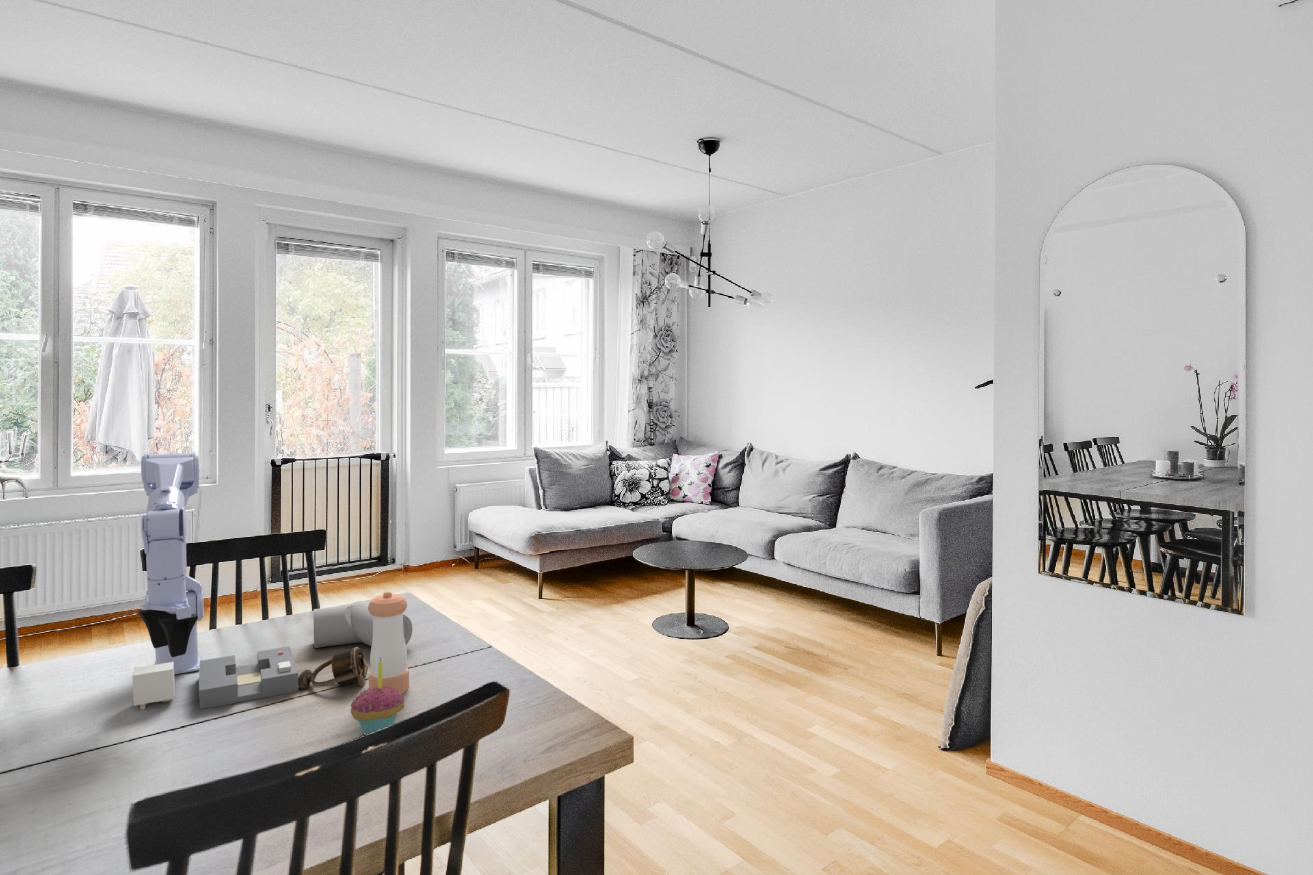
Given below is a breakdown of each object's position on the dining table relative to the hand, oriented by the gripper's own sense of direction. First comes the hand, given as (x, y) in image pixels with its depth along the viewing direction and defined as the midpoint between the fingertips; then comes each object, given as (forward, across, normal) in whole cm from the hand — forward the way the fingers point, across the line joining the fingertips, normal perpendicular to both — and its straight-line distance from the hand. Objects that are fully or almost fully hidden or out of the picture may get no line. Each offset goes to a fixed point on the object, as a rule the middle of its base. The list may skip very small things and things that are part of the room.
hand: (169, 650), depth 132 cm
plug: (+10, -4, -1) cm, 11 cm away
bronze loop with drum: (+11, +14, +24) cm, 29 cm away
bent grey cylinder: (+10, 0, +38) cm, 40 cm away
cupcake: (+11, +38, +17) cm, 43 cm away
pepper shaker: (+11, +25, +28) cm, 39 cm away
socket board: (+10, +1, +13) cm, 16 cm away
